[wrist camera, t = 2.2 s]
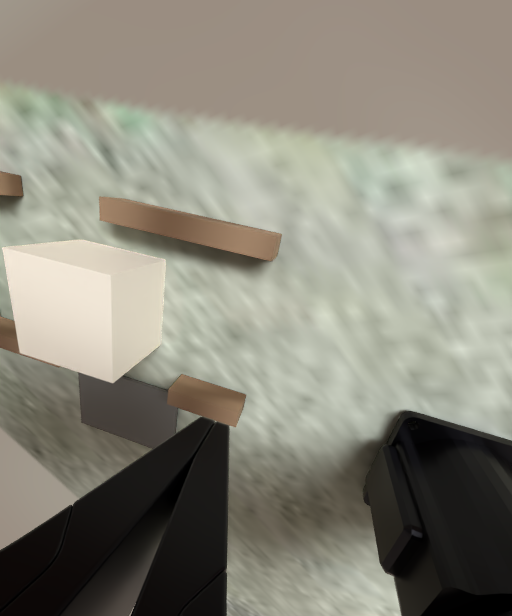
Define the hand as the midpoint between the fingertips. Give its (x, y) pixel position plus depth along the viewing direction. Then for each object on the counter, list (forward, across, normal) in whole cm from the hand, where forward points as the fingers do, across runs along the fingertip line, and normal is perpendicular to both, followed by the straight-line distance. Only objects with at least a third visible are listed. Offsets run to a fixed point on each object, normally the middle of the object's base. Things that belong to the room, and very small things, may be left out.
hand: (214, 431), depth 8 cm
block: (+7, +8, 0) cm, 11 cm away
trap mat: (+7, +8, +8) cm, 13 cm away
